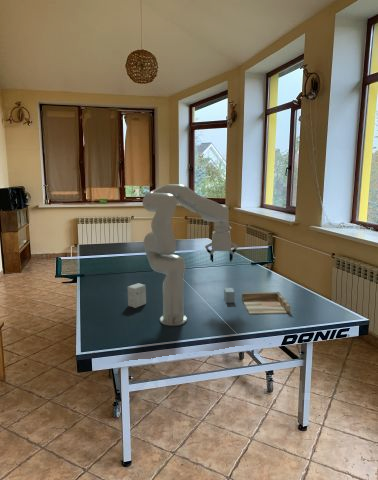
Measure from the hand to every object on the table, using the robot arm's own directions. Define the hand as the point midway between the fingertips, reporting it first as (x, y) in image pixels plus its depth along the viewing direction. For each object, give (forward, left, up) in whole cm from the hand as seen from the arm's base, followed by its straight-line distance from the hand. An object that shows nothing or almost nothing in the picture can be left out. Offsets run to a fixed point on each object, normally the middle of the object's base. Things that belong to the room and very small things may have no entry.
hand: (221, 261), depth 199 cm
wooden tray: (-11, -21, -22) cm, 32 cm away
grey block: (-1, -4, -22) cm, 22 cm away
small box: (-5, +45, -22) cm, 50 cm away
